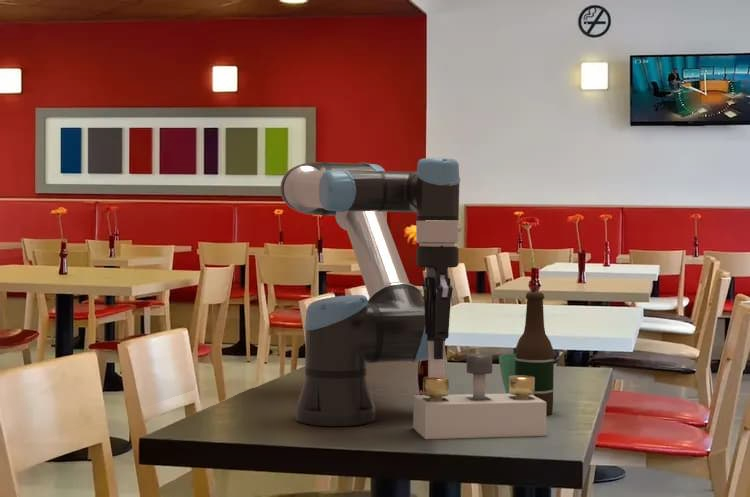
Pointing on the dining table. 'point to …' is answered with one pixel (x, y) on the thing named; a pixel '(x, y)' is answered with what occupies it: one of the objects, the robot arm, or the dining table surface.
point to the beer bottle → (536, 351)
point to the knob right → (521, 386)
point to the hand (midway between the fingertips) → (436, 376)
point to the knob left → (436, 388)
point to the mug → (507, 368)
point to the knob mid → (479, 373)
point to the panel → (479, 416)
